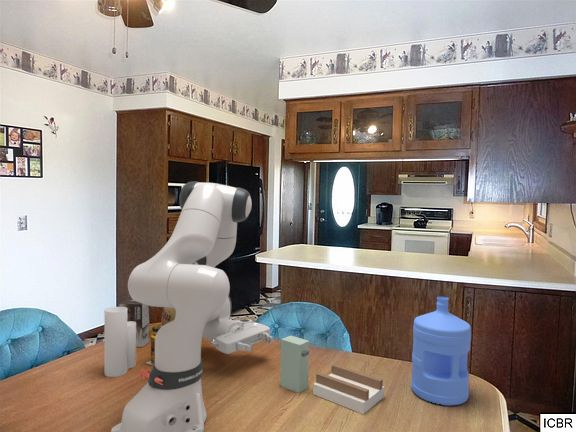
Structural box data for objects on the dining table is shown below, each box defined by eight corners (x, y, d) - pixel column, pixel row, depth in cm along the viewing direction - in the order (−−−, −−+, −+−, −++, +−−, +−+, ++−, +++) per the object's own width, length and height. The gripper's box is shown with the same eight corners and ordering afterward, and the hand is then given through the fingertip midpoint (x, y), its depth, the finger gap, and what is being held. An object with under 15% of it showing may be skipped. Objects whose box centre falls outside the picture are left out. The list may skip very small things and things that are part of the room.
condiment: (145, 363, 133) (145, 328, 132) (161, 354, 141) (161, 320, 140) (163, 367, 130) (163, 330, 130) (178, 357, 138) (179, 323, 138)
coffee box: (150, 341, 153) (150, 299, 153) (142, 347, 147) (142, 304, 146) (127, 340, 154) (127, 298, 153) (118, 346, 148) (118, 302, 147)
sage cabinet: (300, 394, 114) (302, 345, 114) (280, 385, 119) (281, 339, 119) (310, 388, 118) (311, 341, 117) (289, 380, 123) (290, 335, 122)
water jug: (400, 383, 122) (404, 292, 121) (445, 378, 126) (449, 290, 125) (431, 409, 107) (435, 306, 106) (481, 403, 111) (485, 303, 110)
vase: (120, 377, 122) (121, 313, 121) (98, 376, 123) (98, 311, 122) (138, 362, 133) (138, 303, 133) (118, 361, 134) (118, 302, 133)
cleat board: (363, 414, 104) (364, 393, 104) (313, 394, 114) (313, 375, 114) (384, 397, 114) (384, 378, 113) (336, 380, 124) (336, 362, 123)
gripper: (207, 332, 128) (237, 343, 119) (252, 318, 144) (282, 326, 135) (207, 352, 128) (237, 364, 119) (252, 335, 144) (281, 345, 135)
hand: (261, 344), depth 127 cm, fingers open, 8 cm apart
